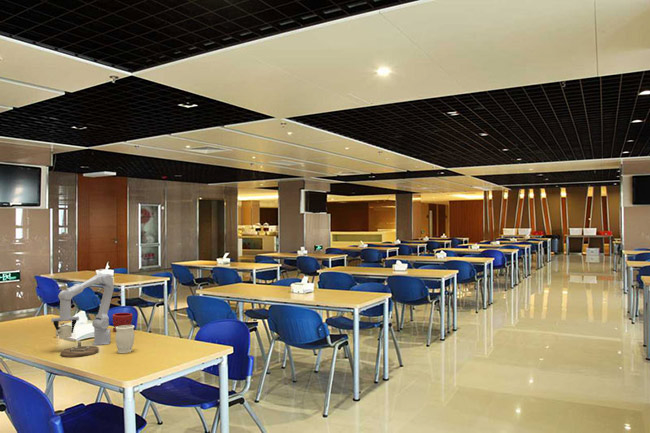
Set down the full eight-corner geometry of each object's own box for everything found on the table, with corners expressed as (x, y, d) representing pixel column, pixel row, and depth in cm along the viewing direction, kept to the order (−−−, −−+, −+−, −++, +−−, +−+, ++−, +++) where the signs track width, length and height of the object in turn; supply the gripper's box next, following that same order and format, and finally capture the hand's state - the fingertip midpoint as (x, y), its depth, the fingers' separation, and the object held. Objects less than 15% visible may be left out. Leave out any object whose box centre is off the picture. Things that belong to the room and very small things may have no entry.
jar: (138, 350, 292) (138, 325, 292) (125, 354, 282) (126, 328, 282) (123, 349, 295) (124, 324, 296) (111, 353, 286) (111, 327, 286)
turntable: (72, 348, 296) (72, 340, 296) (104, 348, 296) (104, 340, 296) (53, 356, 276) (53, 349, 276) (88, 357, 276) (88, 349, 276)
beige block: (66, 335, 295) (66, 324, 295) (71, 336, 293) (71, 325, 292) (54, 338, 288) (53, 327, 288) (58, 339, 286) (58, 329, 286)
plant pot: (114, 333, 339) (114, 316, 339) (111, 330, 350) (111, 313, 350) (134, 331, 346) (134, 314, 346) (130, 328, 357) (130, 311, 357)
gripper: (79, 308, 299) (79, 330, 299) (52, 310, 293) (52, 332, 293) (78, 310, 292) (78, 333, 292) (51, 312, 287) (50, 335, 286)
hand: (65, 333), depth 292 cm, fingers closed on beige block, 7 cm apart
